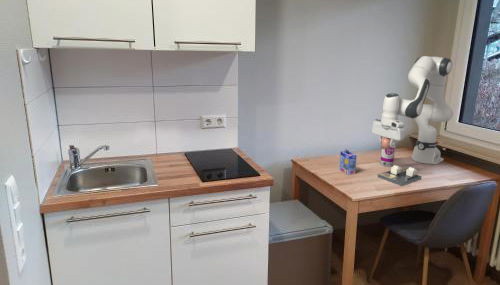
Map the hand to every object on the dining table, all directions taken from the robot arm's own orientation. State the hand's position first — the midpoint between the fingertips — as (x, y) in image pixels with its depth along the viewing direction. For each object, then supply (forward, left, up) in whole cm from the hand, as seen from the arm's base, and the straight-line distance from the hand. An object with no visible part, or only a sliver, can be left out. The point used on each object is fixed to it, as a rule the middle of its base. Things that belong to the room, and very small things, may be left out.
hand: (385, 144), depth 216 cm
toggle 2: (-11, +12, -18) cm, 24 cm away
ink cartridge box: (+13, -16, -20) cm, 29 cm away
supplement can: (-21, -12, -20) cm, 31 cm away
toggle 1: (-6, +5, -18) cm, 19 cm away
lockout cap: (0, 0, -2) cm, 2 cm away
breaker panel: (-5, +8, -20) cm, 22 cm away
